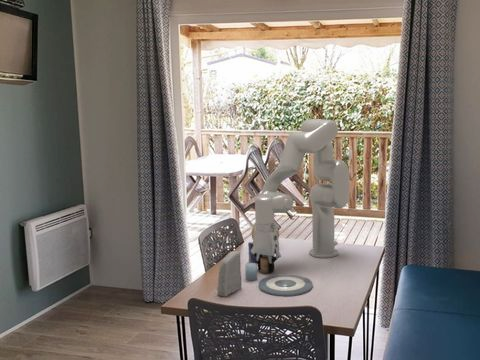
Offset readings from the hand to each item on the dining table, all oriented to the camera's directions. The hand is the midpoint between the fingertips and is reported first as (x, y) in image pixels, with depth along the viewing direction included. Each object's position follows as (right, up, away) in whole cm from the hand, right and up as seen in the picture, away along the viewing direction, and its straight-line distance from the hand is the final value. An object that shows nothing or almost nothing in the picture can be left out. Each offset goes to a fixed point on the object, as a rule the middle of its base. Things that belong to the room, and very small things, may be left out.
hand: (266, 270), depth 212 cm
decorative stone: (-14, -5, -20) cm, 25 cm away
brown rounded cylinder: (0, -1, 0) cm, 1 cm away
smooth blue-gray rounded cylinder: (-6, -2, -8) cm, 10 cm away
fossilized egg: (+1, +5, +33) cm, 33 cm away
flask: (-2, +1, +12) cm, 12 cm away
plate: (+6, -3, -16) cm, 18 cm away
